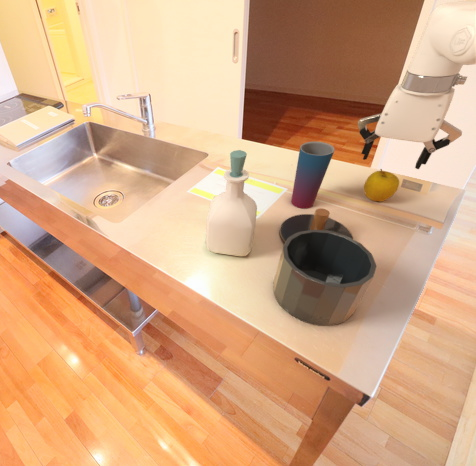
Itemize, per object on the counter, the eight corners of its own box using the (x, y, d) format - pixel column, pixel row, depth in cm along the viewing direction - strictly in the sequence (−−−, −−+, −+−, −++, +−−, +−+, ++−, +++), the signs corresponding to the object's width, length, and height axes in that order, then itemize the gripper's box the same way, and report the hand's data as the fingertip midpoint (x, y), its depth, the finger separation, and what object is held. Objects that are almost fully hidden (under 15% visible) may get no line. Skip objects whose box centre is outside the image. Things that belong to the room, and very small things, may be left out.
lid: (358, 229, 71) (369, 203, 67) (342, 269, 63) (354, 243, 59) (291, 211, 79) (297, 187, 74) (270, 245, 71) (275, 220, 66)
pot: (361, 286, 60) (382, 245, 53) (344, 339, 53) (366, 300, 46) (286, 260, 67) (297, 221, 60) (262, 303, 60) (271, 265, 53)
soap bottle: (252, 232, 75) (267, 142, 60) (249, 261, 68) (265, 167, 54) (210, 227, 78) (215, 140, 63) (204, 254, 72) (207, 164, 57)
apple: (357, 191, 82) (368, 163, 76) (387, 193, 79) (401, 164, 74) (361, 205, 77) (373, 177, 72) (393, 208, 75) (408, 179, 70)
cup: (319, 198, 81) (336, 143, 72) (314, 213, 77) (332, 157, 68) (290, 193, 85) (303, 139, 75) (284, 207, 80) (297, 152, 71)
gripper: (490, 78, 58) (441, 162, 69) (376, 72, 67) (350, 147, 79) (490, 92, 54) (439, 178, 65) (369, 84, 63) (342, 161, 75)
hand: (390, 161), depth 72 cm, fingers open, 9 cm apart
